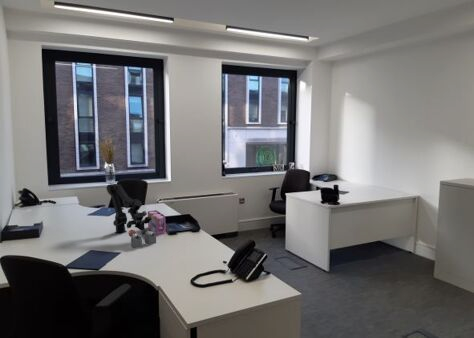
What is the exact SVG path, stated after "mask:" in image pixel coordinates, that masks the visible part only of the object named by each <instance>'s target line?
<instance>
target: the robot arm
mask: <svg viewBox="0 0 474 338" xmlns="http://www.w3.org/2000/svg"><path fill="white" fill-rule="evenodd" d="M106 191H107V193H108V195H110V196H111V201H112V204H113V207H114V211H115V215H114V220H113V226H115V232H114V234H121V235H122V234H124V233H126V232H127V230H126V228H127V229H129V228H132V225H133V226H134V228H135V229H138V230H140V231H141V232H142V230H143V229H144V228H145V225H148V223H149V222H150V220H151V219H152V218H151V217H150V216H148V212H147V211H146V210H143V211H142V212H139V210H140V209H141V207H142V205H143V203H142V201H141V200H139V199H137V198H136V199H133V198H132V197H130V196H129V195H128V194H127V192H126V191H125V190H124V188H123V186H122V184H117V183H112V184H107V186H106ZM119 197H120V198H121V200H122V205H123V206H124V209H128V211H127V214H130V217H131V220H128V217H127V214H126V212H124V211H123V209H122V206H121V202H120V198H119ZM144 217H145V218H144ZM125 225H126V226H125Z"/></svg>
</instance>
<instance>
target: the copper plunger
mask: <svg viewBox="0 0 474 338" xmlns="http://www.w3.org/2000/svg"><path fill="white" fill-rule="evenodd" d="M127 235H128V236H129V237H130V238H131V236H132V235H133V236H134V237H135V238H137V237H138V234H137V232H136V230H134V229H130V230H129V231H128V233H127Z"/></svg>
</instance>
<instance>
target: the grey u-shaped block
mask: <svg viewBox="0 0 474 338" xmlns="http://www.w3.org/2000/svg"><path fill="white" fill-rule="evenodd" d="M149 231H150V230H149ZM150 232H153V231H152V230H151V231H150ZM143 236H144V244H146V245H148V246H150V245H154V244H156V243H157V234H156V233H155V232H153V235H152V236H151V234H149V233H145V235H143Z"/></svg>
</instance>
